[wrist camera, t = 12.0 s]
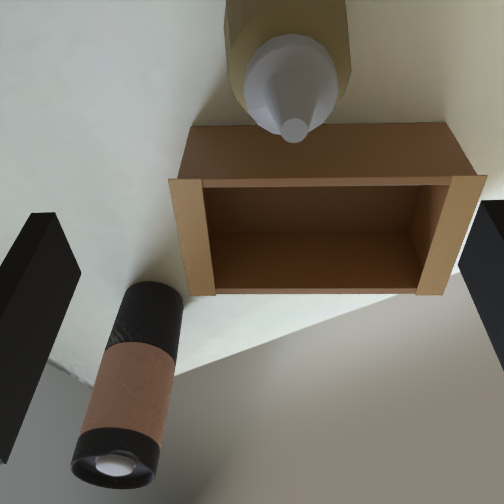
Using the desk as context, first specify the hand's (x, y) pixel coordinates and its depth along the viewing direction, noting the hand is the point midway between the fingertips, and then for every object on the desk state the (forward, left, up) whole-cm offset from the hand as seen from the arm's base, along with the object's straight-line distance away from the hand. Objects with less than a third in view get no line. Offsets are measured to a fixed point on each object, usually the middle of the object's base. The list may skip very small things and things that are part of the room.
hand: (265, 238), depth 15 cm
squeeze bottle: (0, +1, -25) cm, 25 cm away
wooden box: (+15, +4, -25) cm, 29 cm away
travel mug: (+32, -14, -25) cm, 43 cm away
